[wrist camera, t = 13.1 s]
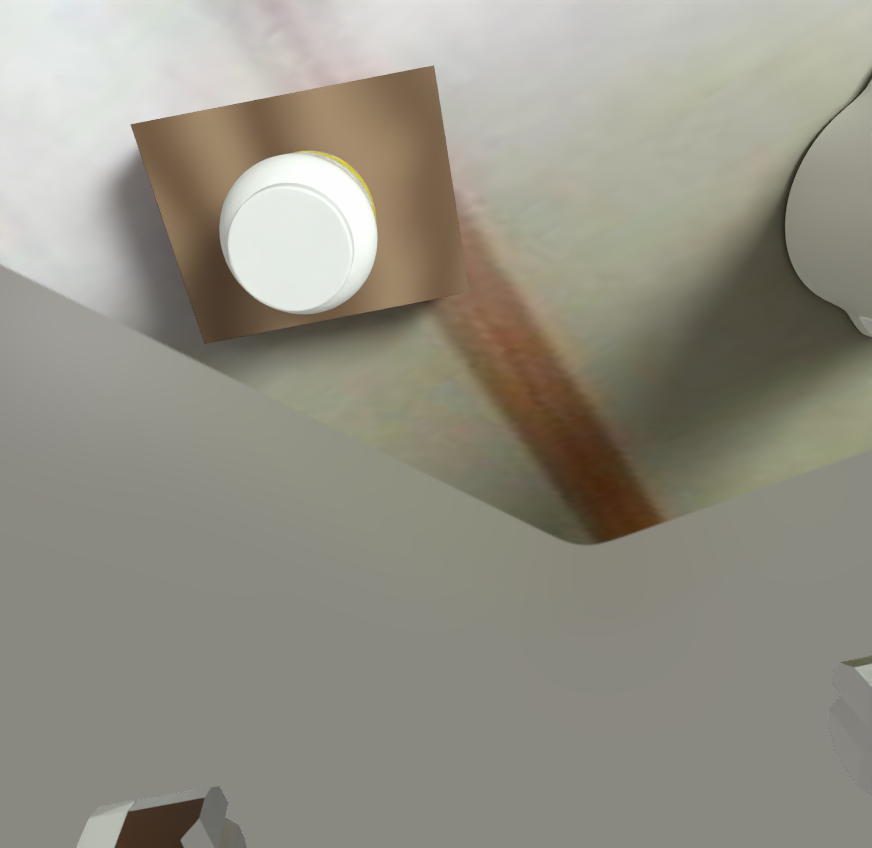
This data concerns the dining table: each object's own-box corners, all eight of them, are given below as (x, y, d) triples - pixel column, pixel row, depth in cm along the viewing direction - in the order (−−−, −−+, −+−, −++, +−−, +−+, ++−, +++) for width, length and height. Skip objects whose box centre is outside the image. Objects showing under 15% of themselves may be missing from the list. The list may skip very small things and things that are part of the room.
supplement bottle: (318, 298, 38) (293, 371, 26) (229, 211, 36) (158, 249, 24) (401, 217, 36) (414, 256, 25) (314, 121, 34) (283, 113, 22)
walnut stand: (427, 74, 38) (433, 65, 34) (459, 275, 43) (469, 292, 38) (160, 126, 38) (130, 124, 34) (223, 321, 43) (204, 343, 38)
